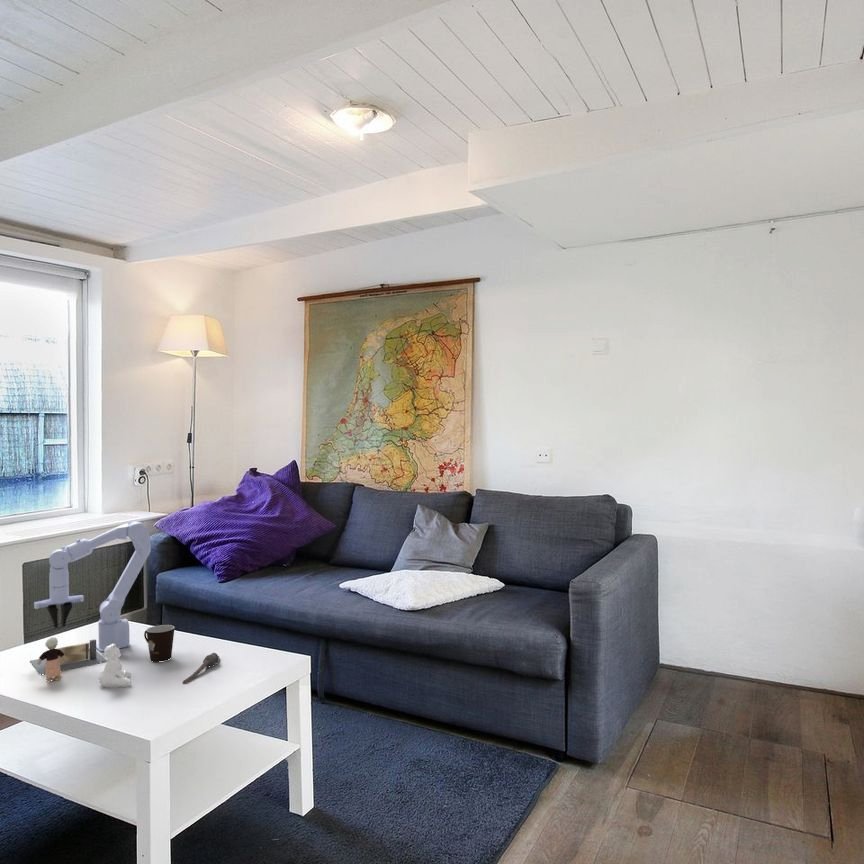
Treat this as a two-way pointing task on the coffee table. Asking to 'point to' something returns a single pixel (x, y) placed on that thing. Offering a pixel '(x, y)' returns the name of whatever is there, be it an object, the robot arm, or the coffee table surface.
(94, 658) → the gate frame
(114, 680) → the sitting furry creature
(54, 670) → the grandmother figurine
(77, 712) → the coffee table surface
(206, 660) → the natural artifact
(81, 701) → the coffee table surface
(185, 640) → the coffee table surface
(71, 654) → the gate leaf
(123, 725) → the coffee table surface
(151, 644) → the coffee mug
